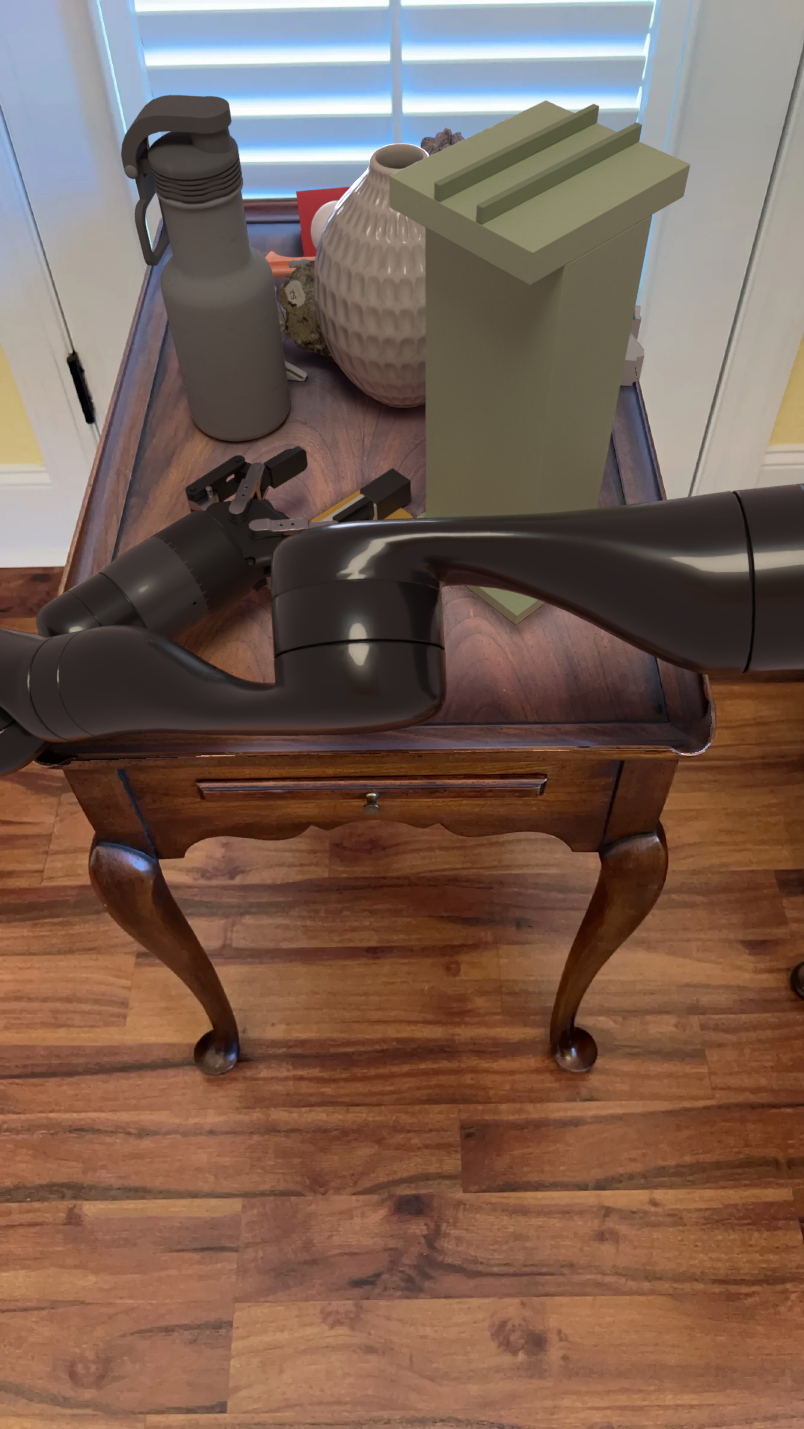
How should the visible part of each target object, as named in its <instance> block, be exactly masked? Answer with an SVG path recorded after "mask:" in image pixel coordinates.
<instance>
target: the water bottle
mask: <svg viewBox="0 0 804 1429" xmlns="http://www.w3.org/2000/svg"><path fill="white" fill-rule="evenodd" d="M231 124H232V114H231V108H230V103H229V101H228V100H227V99H225V98H223V97H221V96H213V95H188V94H187V95H185V94H184V95H183V94H168V95H162V96H159V97H156V98H153V99H151V100H150V101H149V102H148V103H146V104H145V105H143V108H141V110H140V112H139V113H138V115H137V116H136V117H135V119H134V121H133V122H132V123H131V124H130V127H129V128H128V130H127V131H126V133H125V134H124V137H123V140H122V142H121V149H120V150H121V151H120V157H121V163H122V167H123V171H124V175H125V176H126V177H127V178H129V179H131V180H135V181H134V182H135V186H136V189H137V190H136V191H137V194H138V201H137V203H136V204H135V208H134V223H135V228H136V232H137V236H138V240H139V244H140V249H141V252H142V257H143V259H144V260H143V261H144V262H145V264H146V266H149V267H152V266H153V267H157V266H159V263H160V262H161V260H162V258H163V256H164V254H165V252H166V250H167V249H168V247H169V245H170V248H171V249H170V250H171V253H172V255H171V257H170V258H169V259H168V261H167V262H166V264H165V265H164V267H163V270H162V272H161V275H160V289H161V290H160V291H161V295H162V300H163V303H164V304H163V305H164V308H165V313H166V317H167V321H168V325H169V329H170V333H171V337H172V341H173V342H172V343H173V345H174V351H175V355H176V358H177V362H178V367H179V371H180V375H181V378H182V383H183V388H184V392H185V396H186V400H187V405H188V409H189V412H190V416H191V418H192V421H193V423H194V424H195V425H196V427H197V428H198V429H200V430H201V431H202V432H203V433H204V434H206V435H208V436H209V437H212V438H214V439H218V440H220V441H222V440H223V441H226V442H227V441H228V442H244V441H250V440H255V439H259V438H261V437H263V436H266V435H268V434H270V433H271V432H273V431H275V430H277V428H279V427H280V426H281V425H282V424H283V422H284V421H285V420H286V418H287V416H288V414H289V412H290V408H291V397H290V390H289V389H290V388H289V382H288V379H287V374H286V366H285V361H286V360H285V359H286V358H285V352H284V344H283V340H282V337H281V332H282V331H281V330H280V322H279V320H280V315H279V313H278V308H277V302H278V299H277V294H276V293H277V292H276V293H275V287H276V286H275V280H274V279H275V278H273V273H272V269H271V267H270V265H269V262H268V260H267V259H266V258H265V257H264V256H263V255H262V254H261V252H262V251H260V250H258V249H257V248H255V247H254V246H252V245H251V244H250V237H249V231H248V226H247V225H248V224H247V220H246V218H247V217H246V212H245V205H244V200H243V192H242V189H243V186H244V178H243V172H242V164H241V159H240V151H239V146H238V143H237V140H236V139H235V138H234V137H233V136H232V135H231V133H230V129H229V127H230V126H231ZM165 132H166V133H165ZM159 133H164V134H162V135H161V136H160V137H158V138H157V139H156V140H154V141H153V143H152V144H151V145H150V142H149V136H151V135H153V134H159ZM155 195H156V196H157V200H158V204H159V210H160V214H161V219H162V234H161V237H160V239H159V241H158V242H157V244H156V246H155V247H154V250H153V249H152V244H151V241H150V237H149V232H148V228H147V222H146V218H147V217H146V216H147V209H148V207H149V206H150V203H151V202H152V200H153V198H154V196H155ZM276 299H277V300H276Z"/></svg>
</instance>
